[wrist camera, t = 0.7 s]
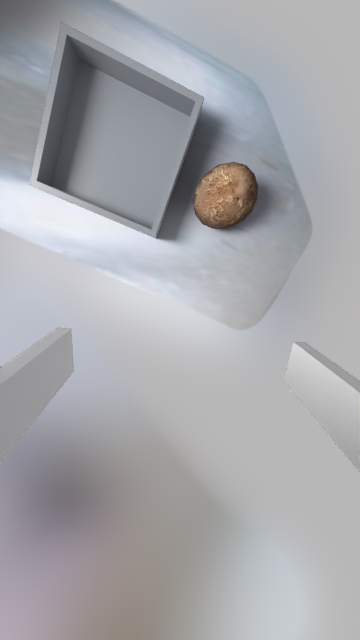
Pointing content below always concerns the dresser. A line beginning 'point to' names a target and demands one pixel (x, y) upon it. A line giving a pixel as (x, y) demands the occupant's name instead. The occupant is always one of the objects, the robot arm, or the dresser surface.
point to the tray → (112, 133)
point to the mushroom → (225, 195)
